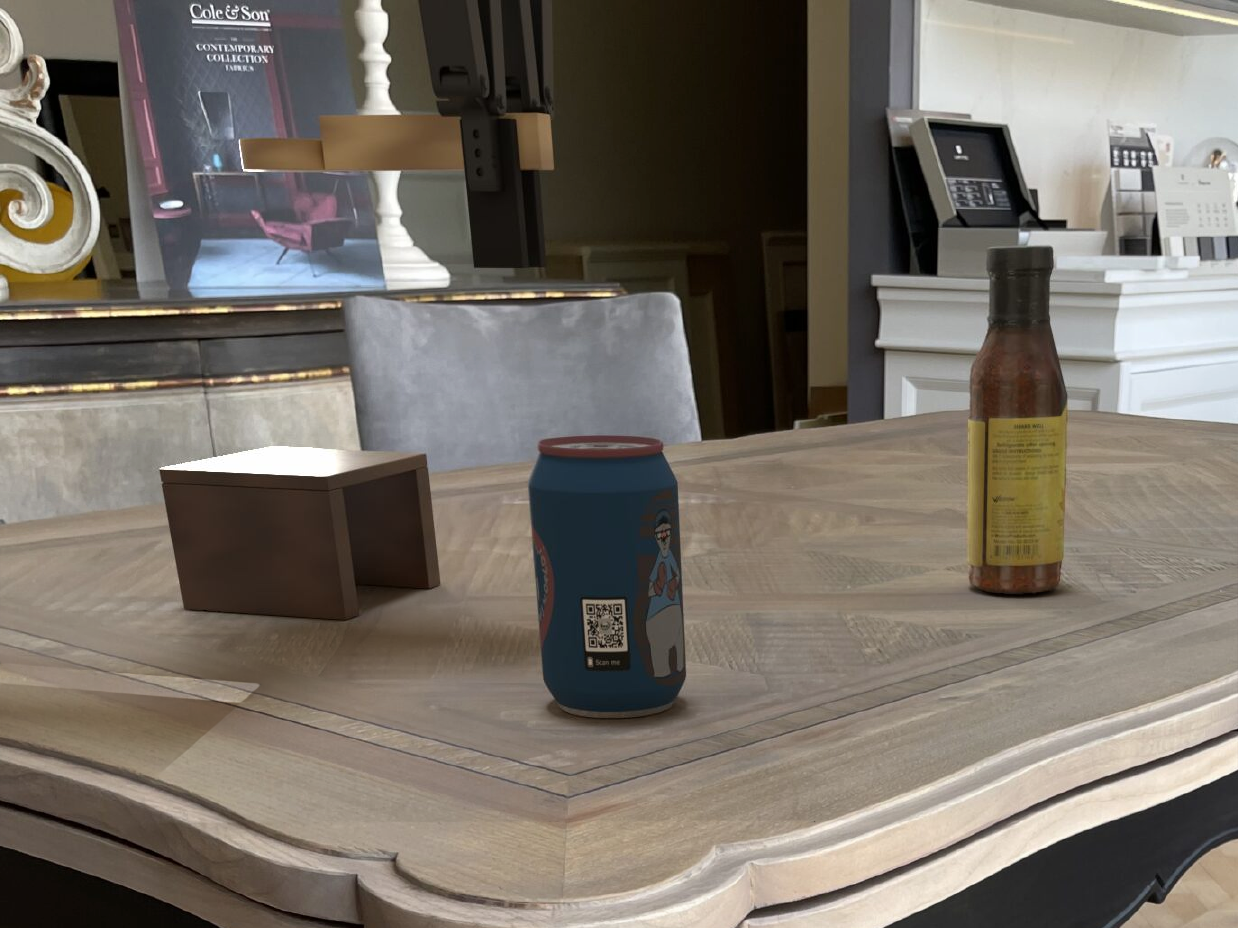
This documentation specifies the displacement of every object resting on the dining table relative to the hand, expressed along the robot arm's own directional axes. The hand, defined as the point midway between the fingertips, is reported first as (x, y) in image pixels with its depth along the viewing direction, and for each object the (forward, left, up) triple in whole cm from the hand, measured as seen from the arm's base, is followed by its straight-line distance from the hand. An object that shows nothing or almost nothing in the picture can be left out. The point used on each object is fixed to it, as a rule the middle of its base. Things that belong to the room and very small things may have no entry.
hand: (510, 266), depth 88 cm
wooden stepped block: (-7, 0, +4) cm, 8 cm away
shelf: (-19, +7, -19) cm, 27 cm away
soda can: (+10, -13, -19) cm, 25 cm away
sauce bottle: (+23, +23, -19) cm, 38 cm away
